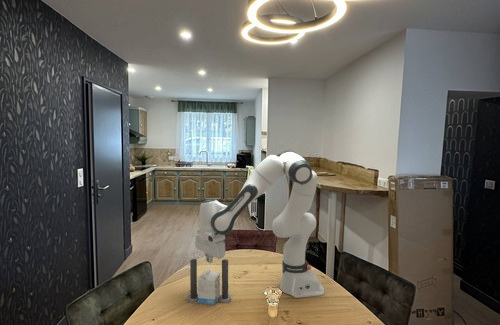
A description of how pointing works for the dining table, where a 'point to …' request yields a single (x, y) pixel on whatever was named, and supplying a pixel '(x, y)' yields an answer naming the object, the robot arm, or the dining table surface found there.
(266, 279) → the dining table surface
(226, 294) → the post
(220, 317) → the dining table surface
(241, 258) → the dining table surface
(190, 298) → the post
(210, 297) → the ink box
